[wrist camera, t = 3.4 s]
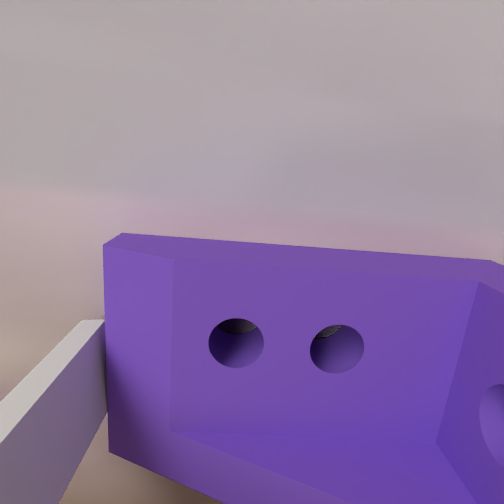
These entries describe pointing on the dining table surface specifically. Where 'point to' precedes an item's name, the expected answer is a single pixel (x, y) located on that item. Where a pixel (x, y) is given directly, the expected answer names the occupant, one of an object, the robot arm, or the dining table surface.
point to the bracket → (306, 371)
